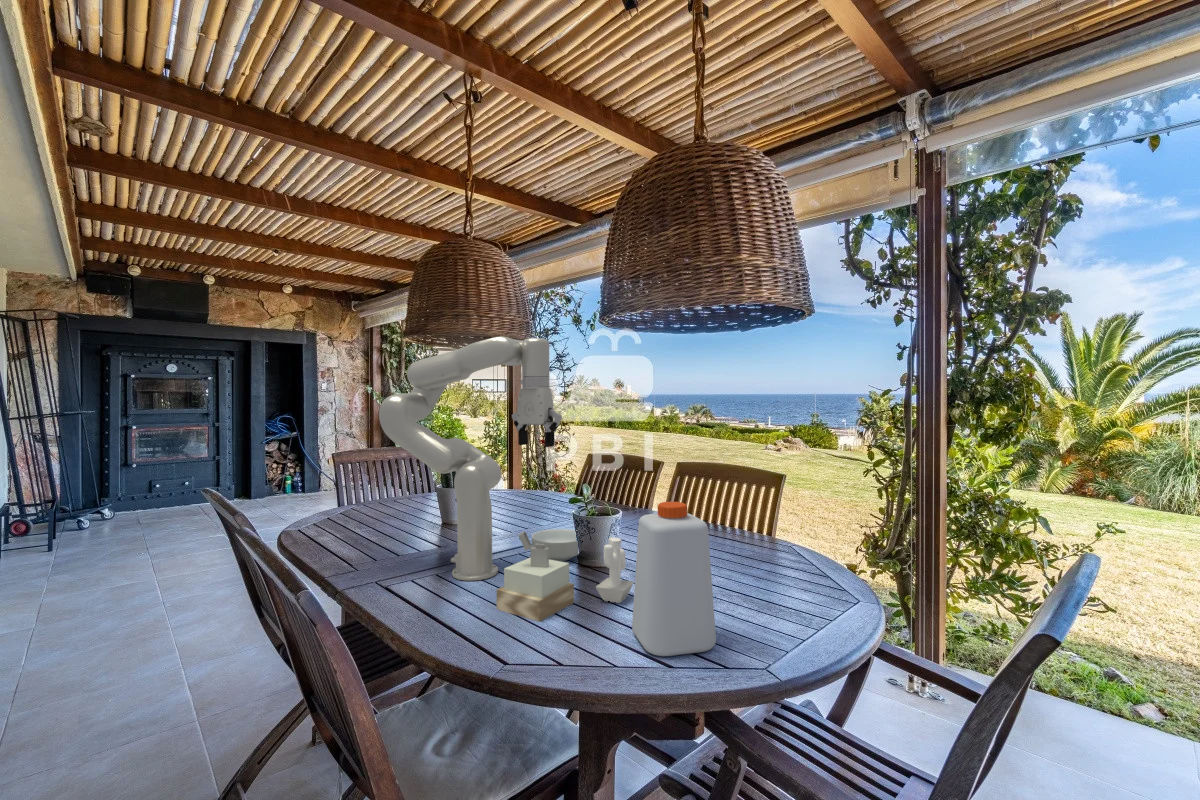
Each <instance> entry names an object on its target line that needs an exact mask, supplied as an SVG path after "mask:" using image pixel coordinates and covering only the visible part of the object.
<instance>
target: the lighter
mask: <svg viewBox="0 0 1200 800" xmlns="http://www.w3.org/2000/svg"><path fill="white" fill-rule="evenodd" d="M518 537H519V540H520V542H521V544H522V547H523V548H524V551H525V552H526V551H529V550H530V557H531V567H546V568H547V567H548V566H549V548H548V547H545V545H544V544H539V543H536V544H535V547H532V542H531V541H530V540H531V539H529V536H528V535H527V532H526V531H525V530H524V531H522V532H520V533H519V534H518Z"/></svg>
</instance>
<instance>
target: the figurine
mask: <svg viewBox="0 0 1200 800" xmlns="http://www.w3.org/2000/svg"><path fill="white" fill-rule="evenodd" d="M621 545H622V539H621V538H619V537H613V536H611V537H609V538H608V544H605V545H604V546H603V563H604V566H605V567H606V568H608V569H609V570H608V571H609V573H608V574H609V577H607V578H605V579H604V580H602V581H601V582H600V583H599V584H598V585H596V586H595V588H596V589H595V590H596V591H597V592H598V594H599V595H600V597H601V599H602V601H603V600H604V601H603V602H608V601H610V602H609V603H614V602H616V603H615V604H621V603H622V602H624V600H625V599H626V598H627V597H628V596H629V593H630V592H631V588H632V587H633V585H634V584H635V581H632V580H626V579H621V578H622V576H621V571H623V570H625V569H626V551H625V549H624V548H621V547H622V546H621Z"/></svg>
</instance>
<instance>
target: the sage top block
mask: <svg viewBox="0 0 1200 800" xmlns="http://www.w3.org/2000/svg"><path fill="white" fill-rule="evenodd" d="M503 576H504V577H503V580H504V581H503V582H504V584H503V587H504V590H508V591H512V592H516V593H520V594H525V595H529V596H533V597H538V598H544V597H546V596H548V595H549V594H551V593H553V592H555V591H557V590H559V589H560V588H562V587H564V586H566V585H568V584H569V583H570V562H567V561H566V562H565V561H555V560H550V559H549V566H548V567H547V568H546V567H531V556H530V557H528V558H526V559H524V560H521V561H518V562H516V563H514V564H512V565H510V566H507V567H504V569H503Z"/></svg>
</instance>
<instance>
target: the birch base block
mask: <svg viewBox="0 0 1200 800" xmlns="http://www.w3.org/2000/svg"><path fill="white" fill-rule="evenodd" d="M573 604H575V584H574V583H573V582H569V584H568V585H566V586H564V587H562V588H560V589H559V590H557V591H555V592H553V593H551V594H549V595H548V596H546V597H544V598H538V597H533V596H529V595H525V594H520V593H516V592H512V591H508V590H504V586H502V587H500V588H497V589H496V610H497V609H498V611H501V612H505V613H508V614H512V615H514V616H518V617H522V618H524V619H525V618H526V619H529V620H533V621H536V622H542V621H544V620H545V619H547V618H549V617H551V616H552V615H555V614H556V613H558V612H560V611H563V609H565V608H568V607H569V606H571V605H573Z"/></svg>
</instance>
